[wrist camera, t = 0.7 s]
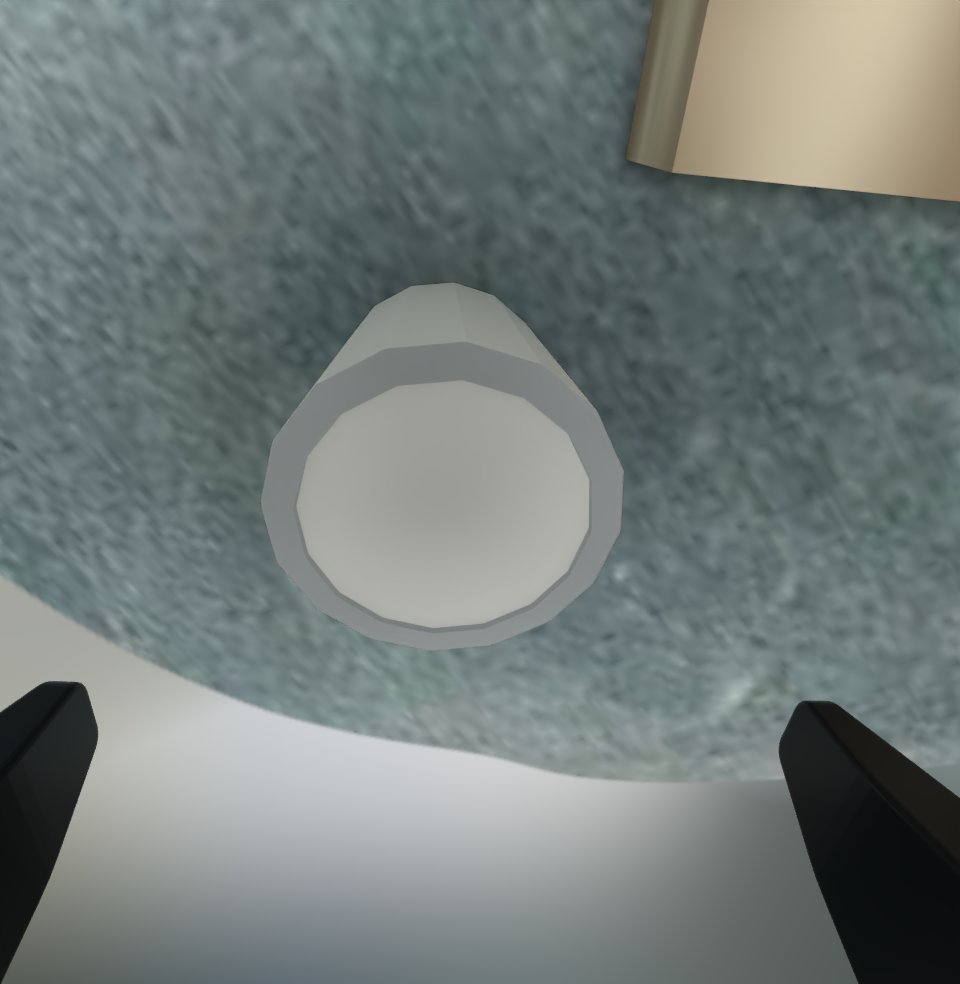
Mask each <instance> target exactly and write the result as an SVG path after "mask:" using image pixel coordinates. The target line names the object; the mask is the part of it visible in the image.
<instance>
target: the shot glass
mask: <svg viewBox="0 0 960 984" xmlns="http://www.w3.org/2000/svg"><path fill="white" fill-rule="evenodd" d="M623 474H624V470H623V468H622V466H621V464H620V461H619V459H618V457H617V455H616V452H615V450H614V448H613V446H612V443H611V441H610V439H609V437H608V434H607V432H606V430H605V428H604V425H603V423H602V421H601V419H600V416H599V414H598V412H597V410H596V409H595V408H594V407H593V406H592V404H591V403H590V402H589V401H588V399H587V398H586V397H585V396H584V395H583V393H582V392H581V391H580V390H579V388H578V387H577V386H576V385H575V383H574V382H573V381H572V380H571V379H570V377H569V376H568V375H567V374H566V372H565V371H564V370H563V369H562V368H561V366H560V365H559V364H558V363H557V361H556V360H555V359H554V358H553V356H552V355H551V354H550V353H549V352H548V350H547V349H546V348H545V347H544V345H543V344H542V343H541V342H540V341H539V339H538V338H537V337H536V336H535V334H534V333H533V332H532V331H531V329H530V328H529V327H528V326H527V325H526V323H525V322H524V321H523V320H522V319H520V318H519V317H518V316H517V315H516V314H515V313H514V312H512V311H511V310H510V309H509V308H508V307H507V306H505V305H504V304H503V303H502V302H501V301H500V300H499V299H497V298H496V297H495V296H494V295H491V294H488V293H485V292H482V291H479V290H476V289H473V288H470V287H467V286H464V285H460V284H457V283H454V282H452V283H440V284H429V285H417V286H410V287H409V288H407V289H405V290H403V291H401V292H399V293H397V294H396V295H394V296H392V297H390V298H388V299H386V300H384V301H383V302H381V303H379V304H377V305H375V306H374V307H373V308H372V310H371V311H370V312H369V314H368V315H367V316H366V318H365V319H364V320H363V321H362V323H361V324H360V325H359V327H358V328H357V329H356V330H355V332H354V333H353V334H352V336H351V337H350V338H349V339H348V341H347V342H346V343H345V345H344V346H343V347H342V349H341V350H340V351H339V353H338V354H337V355H336V357H335V358H334V359H333V361H332V362H331V363H330V365H329V366H328V367H327V369H326V370H325V371H324V373H323V374H322V375H321V377H320V378H319V379H318V381H317V382H316V383H315V385H314V386H313V387H312V389H311V390H310V391H309V393H308V394H307V395H306V397H305V398H304V399H303V401H302V402H301V403H300V405H299V406H298V407H297V409H296V410H295V411H294V413H293V414H292V415H291V417H290V418H289V419H288V421H287V422H286V423H285V425H284V426H283V427H282V428H281V430H280V431H279V432H278V434H277V435H276V436H275V438H274V439H273V440H272V445H271V450H270V456H269V461H268V466H267V471H266V476H265V481H264V486H263V492H262V497H261V502H260V504H261V508H262V511H263V515H264V518H265V522H266V525H267V529H268V532H269V536H270V540H271V543H272V547H273V550H274V554H275V557H276V561H277V563H278V564H279V565H280V566H281V567H282V569H283V570H284V571H285V572H286V573H287V574H288V576H289V577H290V578H291V579H292V580H293V582H294V583H295V584H296V585H297V586H298V588H299V589H300V590H301V591H302V592H303V594H304V595H305V596H306V597H307V598H308V600H309V601H310V602H311V603H312V604H313V605H314V607H315V608H316V609H318V610H320V611H322V612H323V613H325V614H327V615H329V616H330V617H332V618H334V619H336V620H338V621H339V622H341V623H343V624H345V625H346V626H348V627H350V628H352V629H354V630H355V631H357V632H359V633H361V634H362V635H364V636H366V637H368V638H370V639H375V640H379V641H384V642H389V643H394V644H399V645H404V646H409V647H414V648H419V649H424V650H429V651H434V650H445V649H455V648H466V647H477V646H488V645H494V644H496V643H498V642H501V641H503V640H506V639H508V638H511V637H513V636H516V635H518V634H520V633H523V632H525V631H528V630H530V629H533V628H535V627H537V626H540V625H542V624H545V623H547V622H549V621H550V620H551V619H553V618H554V617H555V616H556V615H557V614H558V613H559V612H561V611H562V610H563V609H564V608H565V607H566V606H568V605H569V604H570V603H571V602H572V601H573V600H574V599H576V598H577V597H578V596H579V595H580V594H581V593H583V592H584V591H585V590H586V589H587V588H588V587H589V586H591V585H592V584H593V583H594V581H595V579H596V578H597V576H598V574H599V572H600V570H601V568H602V566H603V564H604V562H605V560H606V558H607V556H608V554H609V552H610V551H611V549H612V547H613V545H614V543H615V541H616V539H617V537H618V535H619V533H620V531H621V518H622V496H623Z"/></svg>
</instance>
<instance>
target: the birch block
mask: <svg viewBox="0 0 960 984" xmlns="http://www.w3.org/2000/svg"><path fill="white" fill-rule="evenodd" d="M626 160H629V161H632V162H636V163H639V164H643V165H647V166H650V167H654V168H657V169H661V170H664V171H668V172H671V173H680V174H690V175H700V176H710V177H720V178H730V179H740V180H750V181H760V182H770V183H780V184H790V185H800V186H810V187H820V188H830V189H840V190H850V191H860V192H870V193H880V194H890V195H900V196H910V197H920V198H930V199H940V200H950V201H960V0H655V1H654V6H653V12H652V17H651V23H650V28H649V34H648V39H647V45H646V50H645V56H644V61H643V67H642V72H641V78H640V83H639V89H638V94H637V100H636V105H635V111H634V116H633V122H632V127H631V133H630V138H629V144H628V149H627V155H626Z"/></svg>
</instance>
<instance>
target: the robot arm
mask: <svg viewBox="0 0 960 984" xmlns="http://www.w3.org/2000/svg"><path fill="white" fill-rule="evenodd" d="M97 741H98V727H97V723H96V720H95V716H94V713H93V709H92V706H91V702H90V699H89V696H88V692H87V690H86V688H85V686H84V685H83V684H82V683H79V682H62V681H61V682H59V681H49V682H45V683H42V684H40V685H39V686H37V687H35V688H34V689H33V690H31V691H30V692H28V693H27V694H25V695H24V696H23V697H21V698H20V699H18V700H17V701H15V702H14V703H13V704H11V705H10V706H8V707H7V708H5V709H4V710H3V711H1V712H0V984H1V983H2V981H3V978H4V976H5V974H6V972H7V970H8V968H9V965H10V963H11V961H12V959H13V957H14V955H15V953H16V951H17V948H18V946H19V944H20V942H21V940H22V938H23V935H24V933H25V931H26V929H27V927H28V925H29V923H30V921H31V918H32V916H33V914H34V912H35V910H36V908H37V906H38V904H39V901H40V899H41V897H42V895H43V892H44V890H45V888H46V885H47V883H48V881H49V879H50V876H51V873H52V871H53V868H54V866H55V863H56V860H57V858H58V855H59V852H60V849H61V847H62V844H63V841H64V838H65V835H66V832H67V829H68V827H69V824H70V821H71V818H72V815H73V812H74V809H75V806H76V804H77V801H78V798H79V795H80V792H81V789H82V786H83V784H84V781H85V778H86V775H87V772H88V769H89V766H90V763H91V761H92V757H93V755H94V752H95V749H96V745H97ZM779 758H780V762H781V765H782V769H783V772H784V775H785V779H786V782H787V785H788V789H789V792H790V795H791V799H792V802H793V805H794V808H795V812H796V815H797V819H798V822H799V825H800V828H801V832H802V835H803V839H804V842H805V845H806V849H807V852H808V855H809V859H810V862H811V865H812V867H813V871H814V874H815V877H816V879H817V882H818V884H819V887H820V890H821V892H822V895H823V898H824V900H825V903H826V905H827V908H828V910H829V912H830V915H831V917H832V920H833V922H834V925H835V927H836V930H837V932H838V935H839V937H840V939H841V942H842V944H843V947H844V949H845V952H846V954H847V957H848V959H849V961H850V964H851V967H852V969H853V972H854V974H855V976H856V979H857V981H858V984H960V798H959V797H958V796H957V795H955V794H954V793H953V792H951V791H950V790H949V789H947V788H946V787H945V786H943V785H942V784H941V783H940V782H938V781H937V780H936V779H934V778H933V777H932V776H930V775H929V774H928V773H926V772H925V771H924V770H923V769H921V768H920V767H919V766H917V765H916V764H915V763H913V762H912V761H911V760H909V759H908V758H907V757H905V756H904V755H903V754H902V753H900V752H899V751H898V750H896V749H895V748H894V747H892V746H891V745H890V744H888V743H887V742H886V741H885V740H883V739H882V738H881V737H879V736H878V735H877V734H875V733H874V732H873V731H871V730H870V729H869V728H867V727H866V726H865V725H864V724H862V723H861V722H860V721H858V720H857V719H856V718H854V717H853V716H852V715H850V714H849V713H848V712H847V711H845V710H844V709H843V708H841V707H840V706H838V705H837V704H835V703H833V702H830V701H807V700H806V701H802V702H800V703H799V704H798V705H797V706H796V708H795V710H794V712H793V714H792V716H791V718H790V720H789V722H788V725H787V727H786V729H785V731H784V733H783V735H782V737H781V740H780V743H779Z"/></svg>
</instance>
